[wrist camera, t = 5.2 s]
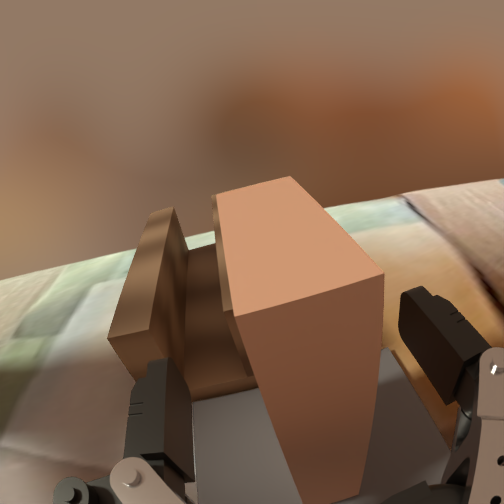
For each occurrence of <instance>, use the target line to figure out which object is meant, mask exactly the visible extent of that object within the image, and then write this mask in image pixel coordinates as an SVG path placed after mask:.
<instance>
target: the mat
mask: <svg viewBox="0 0 504 504" xmlns="http://www.w3.org/2000/svg"><path fill="white" fill-rule="evenodd" d="M193 421H194V444H195V462H196V478H197V492H198V504H303V503H302V500H301V498H300V495H299V493H298V490H297V488H296V485H295V483H294V480H293V478H292V475H291V472H290V470H289V467H288V465H287V462H286V460H285V457H284V454H283V452H282V449H281V446H280V444H279V441H278V439H277V436H276V433H275V431H274V428H273V425H272V422H271V420H270V417H269V414H268V412H267V409H266V406H265V403H264V401H263V398H262V395H261V392H260V390H259V388H257V389H253V390H248V391H244V392H240V393H235V394H231V395H226V396H222V397H217V398H212V399H207V400H202V401H197V402H193ZM450 454H451V451H450V449H449V448H448V446H447V444H446V442H445V440H444V439H443V437H442V435H441V433H440V432H439V430H438V428H437V426H436V425H435V423H434V421H433V420H432V418H431V416H430V415H429V413H428V411H427V409H426V408H425V406H424V404H423V403H422V401H421V399H420V398H419V396H418V394H417V393H416V391H415V390H414V388H413V386H412V385H411V383H410V381H409V380H408V378H407V377H406V375H405V373H404V372H403V370H402V369H401V367H400V365H399V364H398V362H397V361H396V359H395V358H394V356H393V354H392V353H391V351H390V350H389V348H388V347H387V348H385V349H382V350H381V356H380V367H379V377H378V386H377V394H376V402H375V409H374V416H373V423H372V429H371V435H370V441H369V447H368V452H367V457H366V463H365V467H364V472H363V477H362V482H361V486H360V490H359V494H358V495H356V496H353V497H350V498H347V499H344V500H341V501H338V502H334V503H331V504H381V503H382V502H383V501H385V500H386V499H388V498H389V497H391V496H392V495H394V494H397V493H399V492H401V491H403V490H406V489H408V488H410V487H412V486H414V485H416V484H418V483H420V482H423V481H425V480H426V482H427V484H428V486H429V485H435V484H441V480H442V476H443V473H444V470H445V468H446V465H447V463H448V461H449V458H450Z"/></svg>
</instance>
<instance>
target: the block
mask: <svg viewBox="0 0 504 504" xmlns="http://www.w3.org/2000/svg"><path fill="white" fill-rule="evenodd" d="M216 199H217V206H218V213H219V220H220V227H221V234H222V241H223V247H224V254H225V261H226V267H227V274H228V280H229V287H230V293H231V299H232V306H233V312H234V317H235V320H236V323H237V326H238V329H239V332H240V335H241V338H242V341H243V344H244V347H245V350H246V353H247V355H248V358H249V361H250V364H251V367H252V370H253V373H254V375H255V378H256V381H257V384H258V387H259V390H260V392H261V395H262V398H263V401H264V403H265V406H266V409H267V412H268V414H269V417H270V420H271V422H272V425H273V428H274V431H275V433H276V436H277V439H278V441H279V444H280V446H281V449H282V452H283V454H284V457H285V460H286V462H287V465H288V467H289V470H290V472H291V475H292V478H293V480H294V483H295V485H296V488H297V490H298V493H299V495H300V498H301V500H302V503H303V504H331V503H334V502H338V501H341V500H344V499H347V498H350V497H353V496H356V495H358V494H359V490H360V486H361V482H362V477H363V472H364V467H365V463H366V457H367V452H368V447H369V441H370V435H371V429H372V423H373V416H374V409H375V402H376V394H377V386H378V377H379V367H380V356H381V343H382V328H383V309H384V272H383V271H382V270H381V269H380V268H379V267H378V265H377V264H376V263H375V262H374V261H373V260H372V259H371V258H370V257H369V256H368V255H367V253H366V252H365V251H364V250H363V249H362V248H361V247H360V246H359V245H358V244H357V243H356V242H355V241H354V240H353V239H352V238H351V236H350V235H349V234H348V233H347V232H346V231H345V230H344V229H343V228H342V227H341V226H340V225H339V224H338V223H337V222H336V221H335V220H334V219H333V218H332V217H331V216H330V215H329V214H328V213H327V212H326V211H325V210H324V209H323V208H322V207H321V206H320V205H319V204H318V203H317V202H316V201H315V200H314V199H313V198H312V197H311V196H310V195H309V194H308V193H307V192H306V191H305V190H304V189H303V188H302V187H301V186H300V185H299V184H298V183H297V182H296V181H295V180H294V179H293V178H292V177H291V176H288V177H284V178H280V179H275V180H272V181H267V182H263V183H259V184H255V185H251V186H247V187H243V188H240V189H236V190H232V191H228V192H224V193H220V194H217V195H216Z"/></svg>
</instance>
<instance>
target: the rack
mask: <svg viewBox="0 0 504 504" xmlns="http://www.w3.org/2000/svg"><path fill="white" fill-rule="evenodd" d="M234 190H235V189H234ZM231 191H232V190H231ZM227 192H228V191H227ZM223 193H224V192H223ZM219 194H220V193H219ZM216 195H217V194H216ZM216 195H212V196H211V199H212V209H213V220H214V231H215V241H216V243H214V244H211V245H207V246H203V247H199V248H196V249H192V250H188V247H187V244H186V241H185V239H184V236H183V233H182V230H181V227H180V224H179V221H178V218H177V215H176V212H175V209H174V207H170V208H166V209H163V210H159V211H156V212H153V213H151V214H150V217H149V219H148V221H147V224H146V226H145V229H144V231H143V234H142V237H141V239H140V242H139V244H138V247H137V250H136V253H135V255H134V258H133V261H132V263H131V266H130V269H129V272H128V275H127V278H126V280H125V283H124V286H123V289H122V292H121V295H120V298H119V301H118V304H117V308H116V311H115V314H114V317H113V320H112V323H111V327H110V330H109V333H108V337H107V339H108V341H109V342H110V344H111V345H112V347H113V348H114V350H115V352H116V353H117V355H118V356H119V358H120V359H121V361H122V362H123V364H124V365H125V367H126V368H127V370H128V371H129V372H130V374H131V375H132V377H133V378H134V380H135V381H136V382H137V380H138V379H139V378H144V377H146V374H147V366H148V362H149V361H152V360H157V359H162V358H167V357H171V358H172V359H173V361H174V362H175V364H176V366H177V368H178V369H179V371H180V373H181V375H182V376H183V378H184V380H185V381H186V383H187V385H188V388H189V391H190V395H191V402H194V401H199V400H204V399H209V398H214V397H219V396H224V395H229V394H233V393H238V392H242V391H246V390H250V389H254V388H258V384H257V381H256V378H255V375H254V373H253V370H252V367H251V364H250V361H249V358H248V355H247V353H246V350H245V347H244V344H243V341H242V338H241V335H240V332H239V329H238V326H237V323H236V320H235V317H234V312H233V306H232V299H231V293H230V287H229V280H228V274H227V267H226V261H225V254H224V247H223V241H222V234H221V227H220V220H219V213H218V206H217V199H216Z"/></svg>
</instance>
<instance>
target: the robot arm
mask: <svg viewBox="0 0 504 504" xmlns="http://www.w3.org/2000/svg"><path fill="white" fill-rule="evenodd" d="M398 328H399V333H400V336H401V338H402V340H403V342H404V343H405V345H406V346H407V347H408V349H409V350H410V352H411V353H412V355H413V356H414V358H415V359H416V360H417V362H418V363H419V365H420V366H421V368H422V369H423V371H424V372H425V374H426V375H427V377H428V378H429V380H430V381H431V383H432V384H433V386H434V387H435V389H436V391H437V392H438V394H439V395H440V397H441V398H442V400H443V401H444V403H445V405H446V406H447V405H448V404H450V403H452V402H454V401H456V400H457V402H458V403H459V405H460V406H459V408H458V413H457V420H456V427H455V433H454V439H453V444H452V450H451V454H450V458H449V461H448V463H447V465H446V468H445V470H444V473H443V476H442V480H441V484H435V485H429V486H428V484H427V482H426V480H425V481H423V482H420V483H418V484H416V485H414V486H412V487H410V488H408V489H406V490H403V491H401V492H399V493H397V494H394V495H392V496H391V497H389V498H388V499H386V500H385V501H383V502H382V503H381V504H504V348H500V347H494V348H492V347H491V346H490V345H489V344H488V343H487V342H486V340H485V339H484V338H483V337H482V336H481V335H480V334H479V333H478V331H477V330H476V329H475V328H474V327H473V326H472V325H471V324H470V323H469V322H468V320H465V317H464V316H463V315H462V314H461V313H460V312H458V310H457V309H456V308H455V307H454V305H453V304H452V303H451V302H450V301H448V300H446V299H444V298H442V297H440V296H438V295H435V296H432V295H431V294H430V293H429V292H428V291H427V290H426V289H425V288H424V287H423V286H419V287H416V288H413V289H410V290H408V291H405V292H403V293H402V294H401V298H400V311H399V321H398ZM128 415H129V417H128V422H127V431H126V440H125V450H124V457H123V460H121V461H119V462H118V463H117V464H116V465H115V466H114V468H113V469H112V471H111V474H110V475H108V476H106V477H103V478H100V479H97V480H94V481H90V482H87V483H85V482H84V481H82V480H81V479H79V478H77V477H67V478H65V479H63V480H61V481H60V482H59V483H58V484H57V486H56V488H55V490H54V495H53V504H195V503H194V502H193V501H192V500H191V499H190V498H189V497H188V496H187V495H186V494H185V483H188V482H195V473H194V455H193V434H192V404H191V395H190V391H189V388H188V385H187V383H186V381H185V380H184V378H183V376H182V375H181V373H180V371H179V369H178V368H177V366H176V364H175V362H174V361H173V359H172V358H171V357H167V358H162V359H157V360H152V361H149V362H148V366H147V374H146V377H144V378H139V379H138V380H137V382H136V384H135V386H134V387H133V389H132V391H131V398H130V407H129V414H128Z"/></svg>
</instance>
